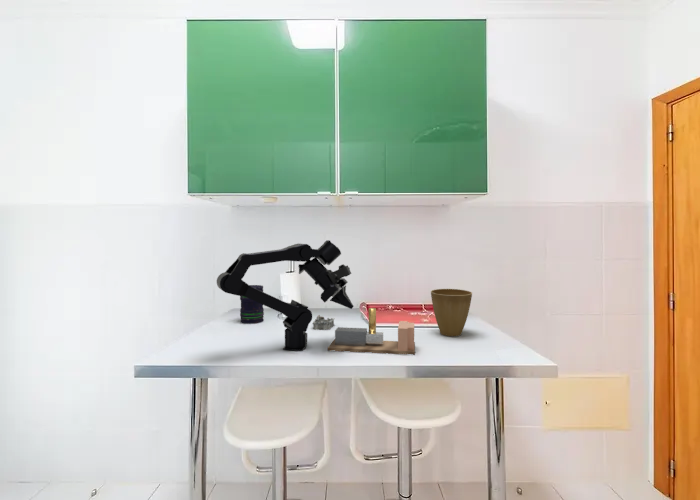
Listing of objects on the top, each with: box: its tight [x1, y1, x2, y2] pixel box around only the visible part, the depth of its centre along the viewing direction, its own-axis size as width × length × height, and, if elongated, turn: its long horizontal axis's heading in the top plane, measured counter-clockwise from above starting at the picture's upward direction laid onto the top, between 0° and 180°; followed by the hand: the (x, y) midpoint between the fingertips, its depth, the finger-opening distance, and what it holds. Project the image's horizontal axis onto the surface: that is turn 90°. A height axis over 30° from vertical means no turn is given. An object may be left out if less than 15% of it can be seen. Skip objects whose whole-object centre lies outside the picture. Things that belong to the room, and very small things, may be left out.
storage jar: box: [239, 284, 265, 325], centre depth 171 cm, size 10×10×15 cm
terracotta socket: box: [397, 320, 415, 351], centre depth 130 cm, size 5×10×7 cm, turn 171°
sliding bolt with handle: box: [366, 307, 384, 344], centre depth 132 cm, size 14×3×11 cm, turn 81°
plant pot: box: [430, 288, 473, 337], centre depth 149 cm, size 15×15×16 cm
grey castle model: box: [311, 314, 335, 331], centre depth 161 cm, size 11×8×4 cm
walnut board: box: [327, 338, 416, 356], centre depth 132 cm, size 28×11×1 cm, turn 81°
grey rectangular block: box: [334, 326, 368, 347], centre depth 133 cm, size 10×5×5 cm, turn 81°
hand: (352, 307), depth 132 cm, fingers closed
